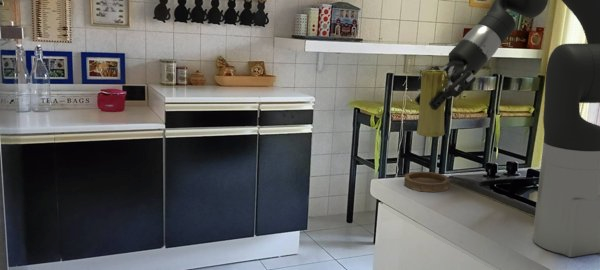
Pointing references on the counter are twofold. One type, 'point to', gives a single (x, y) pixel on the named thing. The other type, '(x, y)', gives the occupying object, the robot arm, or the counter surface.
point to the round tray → (426, 181)
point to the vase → (429, 118)
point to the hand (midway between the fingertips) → (424, 105)
